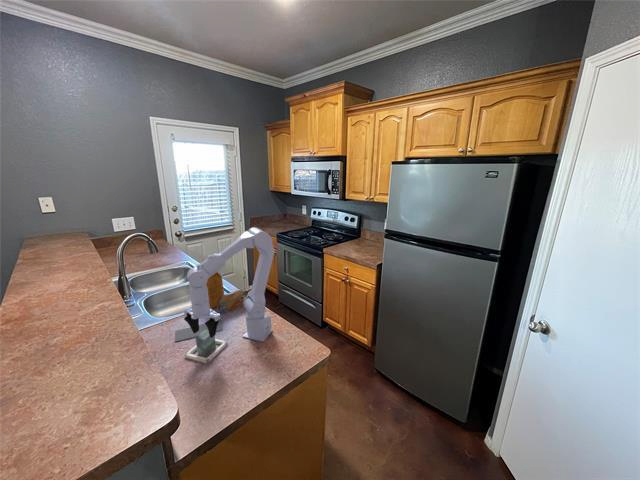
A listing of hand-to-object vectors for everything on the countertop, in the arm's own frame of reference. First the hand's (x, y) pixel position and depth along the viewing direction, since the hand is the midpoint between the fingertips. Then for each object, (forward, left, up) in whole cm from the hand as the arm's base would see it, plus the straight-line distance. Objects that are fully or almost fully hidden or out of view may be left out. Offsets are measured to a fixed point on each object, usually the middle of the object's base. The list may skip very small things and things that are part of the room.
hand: (204, 333), depth 96 cm
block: (0, 0, -7) cm, 7 cm away
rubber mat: (+12, -9, -7) cm, 17 cm away
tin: (+10, -29, -8) cm, 32 cm away
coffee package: (+23, -30, -8) cm, 39 cm away
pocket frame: (0, 0, -7) cm, 7 cm away
